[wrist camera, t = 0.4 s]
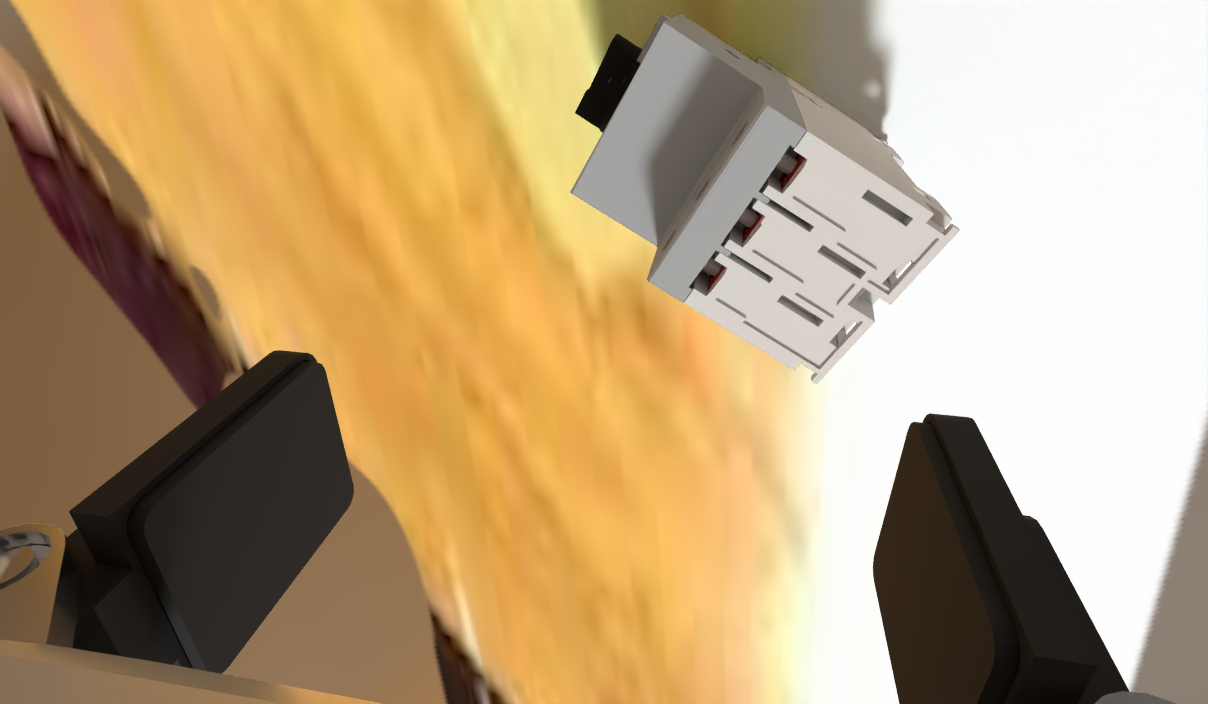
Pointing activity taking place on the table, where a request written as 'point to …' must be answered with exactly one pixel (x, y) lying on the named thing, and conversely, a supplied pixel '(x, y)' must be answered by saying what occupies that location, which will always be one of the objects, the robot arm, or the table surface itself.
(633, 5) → the table surface
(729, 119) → the circuit breaker
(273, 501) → the robot arm
